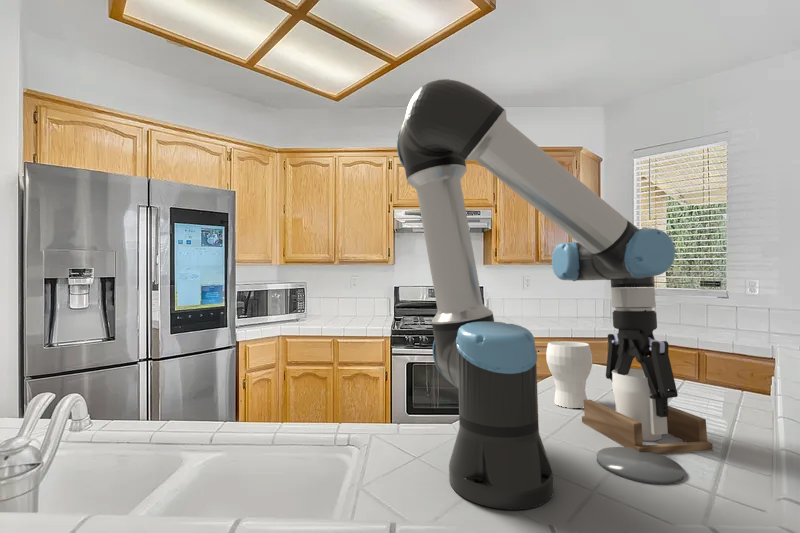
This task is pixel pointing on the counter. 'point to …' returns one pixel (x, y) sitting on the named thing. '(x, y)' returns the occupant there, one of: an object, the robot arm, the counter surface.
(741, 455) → the counter surface
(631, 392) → the cup
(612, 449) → the trivet
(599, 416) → the cradle
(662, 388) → the robot arm
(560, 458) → the counter surface
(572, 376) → the cup
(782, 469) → the counter surface
